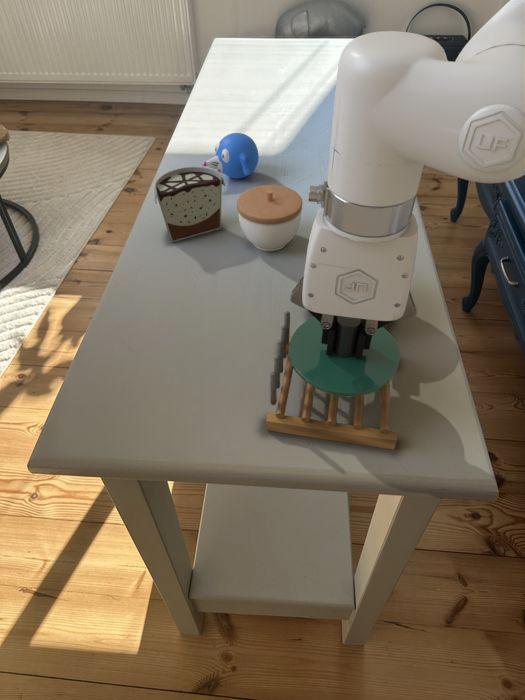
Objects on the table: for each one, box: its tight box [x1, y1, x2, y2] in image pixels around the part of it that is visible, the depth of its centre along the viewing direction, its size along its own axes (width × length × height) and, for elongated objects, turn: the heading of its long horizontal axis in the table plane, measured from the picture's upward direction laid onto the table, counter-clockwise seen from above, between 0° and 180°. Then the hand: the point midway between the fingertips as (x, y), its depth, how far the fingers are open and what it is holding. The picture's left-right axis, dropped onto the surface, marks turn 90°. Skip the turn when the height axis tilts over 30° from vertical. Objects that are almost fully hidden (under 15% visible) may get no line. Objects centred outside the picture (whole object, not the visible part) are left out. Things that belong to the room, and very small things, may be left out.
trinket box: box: [236, 184, 303, 252], centre depth 81 cm, size 11×11×9 cm
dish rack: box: [265, 310, 398, 450], centre depth 58 cm, size 15×14×8 cm
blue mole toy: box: [201, 132, 259, 179], centre depth 97 cm, size 12×12×8 cm
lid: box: [288, 316, 401, 397], centre depth 54 cm, size 13×13×6 cm
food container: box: [153, 166, 226, 243], centre depth 84 cm, size 12×6×10 cm, turn 116°
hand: (344, 347), depth 55 cm, fingers closed on lid, 2 cm apart
